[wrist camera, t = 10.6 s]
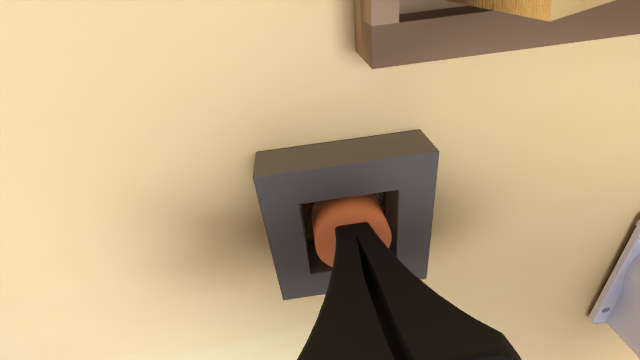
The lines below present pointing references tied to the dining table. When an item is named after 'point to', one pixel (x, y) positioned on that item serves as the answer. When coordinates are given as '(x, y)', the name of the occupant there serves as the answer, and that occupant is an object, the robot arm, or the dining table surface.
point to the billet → (536, 7)
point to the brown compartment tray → (474, 29)
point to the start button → (346, 221)
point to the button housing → (339, 182)
